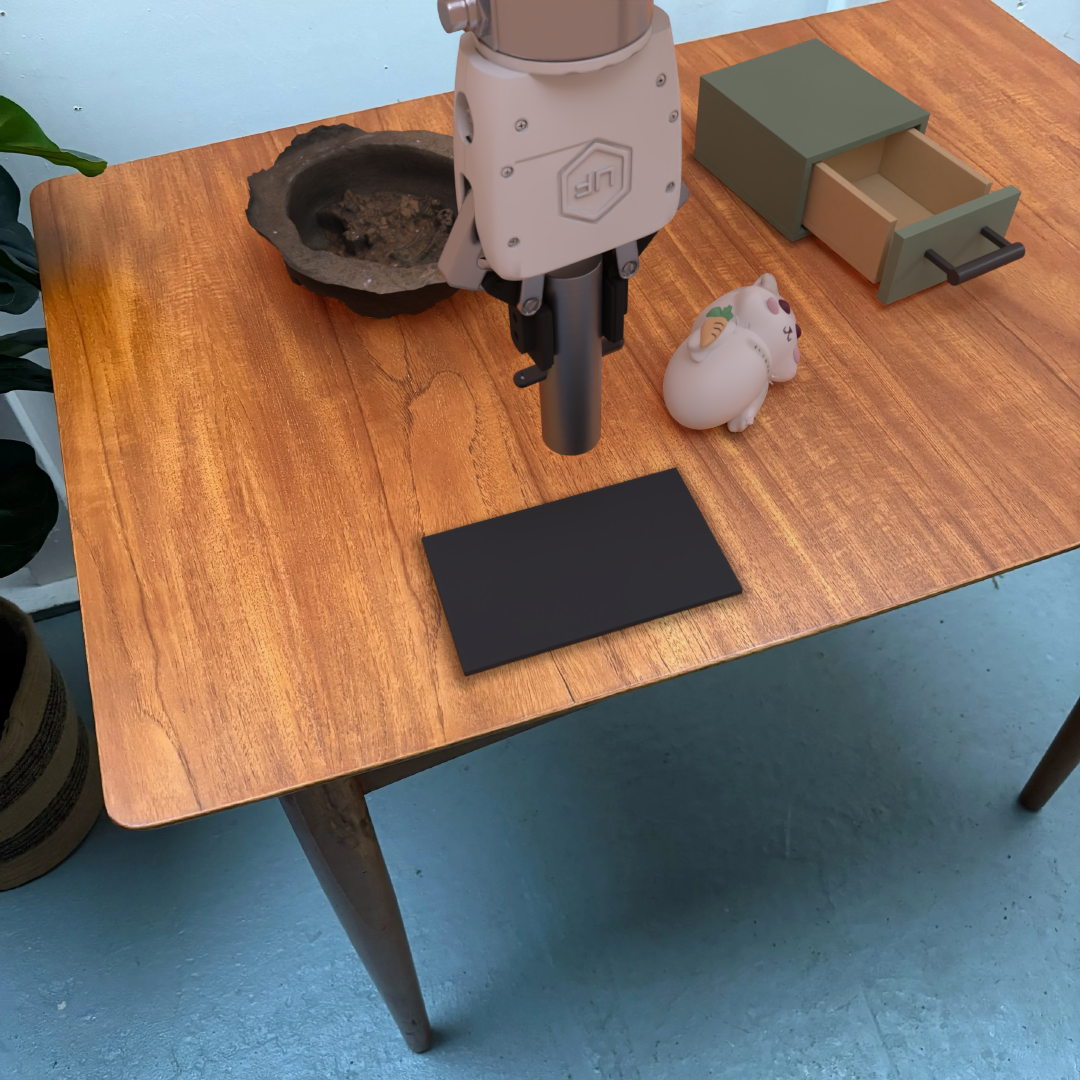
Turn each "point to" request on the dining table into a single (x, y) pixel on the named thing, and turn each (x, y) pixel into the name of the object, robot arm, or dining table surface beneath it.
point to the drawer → (910, 214)
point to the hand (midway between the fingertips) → (569, 338)
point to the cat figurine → (733, 358)
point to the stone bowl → (361, 215)
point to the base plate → (576, 569)
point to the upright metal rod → (572, 359)
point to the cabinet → (791, 124)
